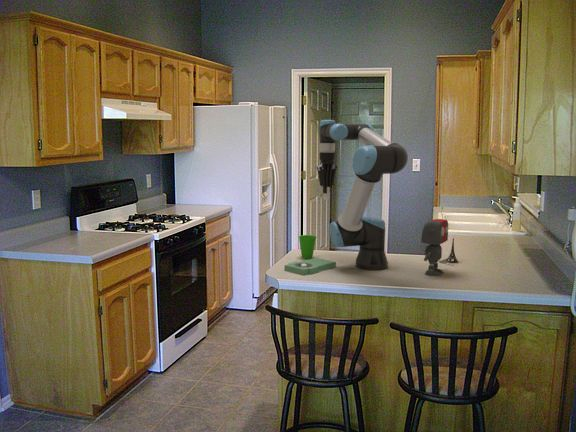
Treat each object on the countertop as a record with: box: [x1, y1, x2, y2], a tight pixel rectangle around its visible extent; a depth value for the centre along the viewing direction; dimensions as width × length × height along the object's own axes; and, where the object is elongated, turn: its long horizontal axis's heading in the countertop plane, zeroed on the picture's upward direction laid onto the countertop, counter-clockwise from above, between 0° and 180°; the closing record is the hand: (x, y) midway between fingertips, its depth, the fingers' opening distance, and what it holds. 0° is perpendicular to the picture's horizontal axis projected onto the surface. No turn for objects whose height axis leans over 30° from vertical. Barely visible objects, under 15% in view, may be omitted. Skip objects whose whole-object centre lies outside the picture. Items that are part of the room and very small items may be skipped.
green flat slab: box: [284, 257, 337, 276], centre depth 262 cm, size 22×14×2 cm, turn 135°
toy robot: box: [420, 207, 449, 277], centre depth 253 cm, size 22×9×30 cm, turn 148°
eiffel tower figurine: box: [437, 236, 459, 266], centre depth 277 cm, size 15×10×13 cm
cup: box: [298, 234, 317, 260], centre depth 283 cm, size 9×9×11 cm
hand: (326, 199), depth 280 cm, fingers closed
